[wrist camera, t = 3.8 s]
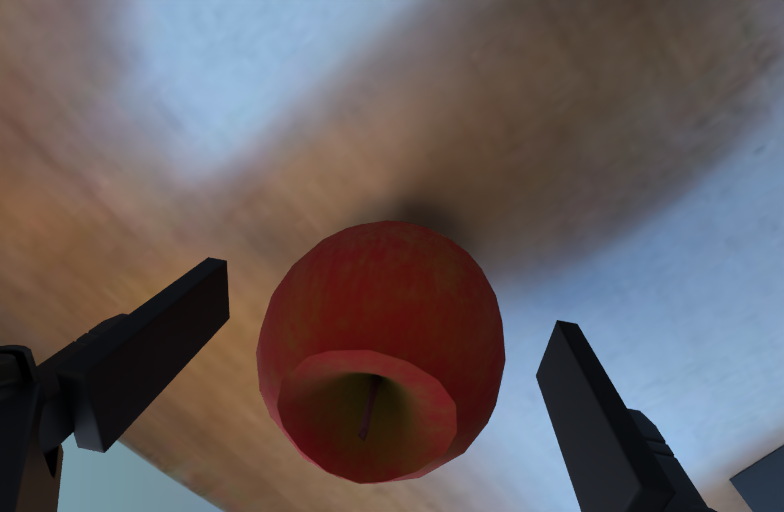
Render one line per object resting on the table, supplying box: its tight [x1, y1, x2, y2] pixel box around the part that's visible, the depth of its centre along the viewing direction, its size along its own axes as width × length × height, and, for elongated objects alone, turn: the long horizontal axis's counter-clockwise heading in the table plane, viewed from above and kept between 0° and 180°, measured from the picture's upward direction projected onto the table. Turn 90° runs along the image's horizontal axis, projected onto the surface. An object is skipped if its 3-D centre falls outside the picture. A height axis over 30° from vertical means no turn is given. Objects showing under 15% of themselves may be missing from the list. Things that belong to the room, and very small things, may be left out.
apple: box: [256, 221, 505, 484], centre depth 15 cm, size 9×8×11 cm
